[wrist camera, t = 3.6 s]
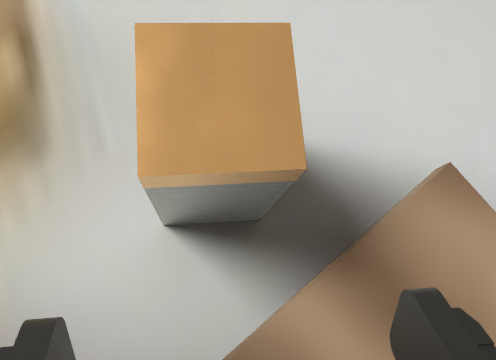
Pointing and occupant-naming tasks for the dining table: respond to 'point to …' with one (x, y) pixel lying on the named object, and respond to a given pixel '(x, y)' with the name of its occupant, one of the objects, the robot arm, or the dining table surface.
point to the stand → (390, 277)
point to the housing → (216, 119)
